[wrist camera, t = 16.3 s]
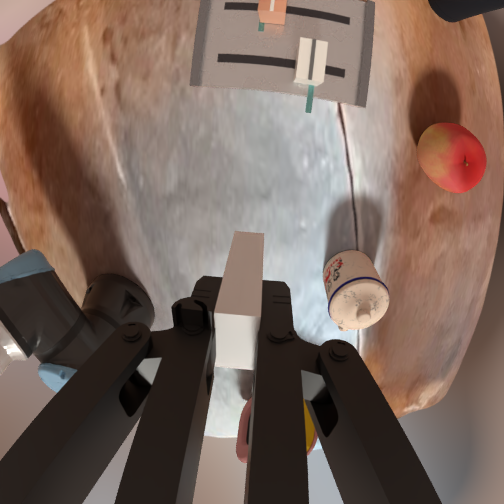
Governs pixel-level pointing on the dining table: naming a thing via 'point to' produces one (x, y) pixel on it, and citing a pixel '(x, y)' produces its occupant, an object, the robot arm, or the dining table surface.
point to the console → (285, 48)
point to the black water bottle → (463, 8)
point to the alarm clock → (245, 428)
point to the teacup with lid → (354, 291)
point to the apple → (451, 157)
